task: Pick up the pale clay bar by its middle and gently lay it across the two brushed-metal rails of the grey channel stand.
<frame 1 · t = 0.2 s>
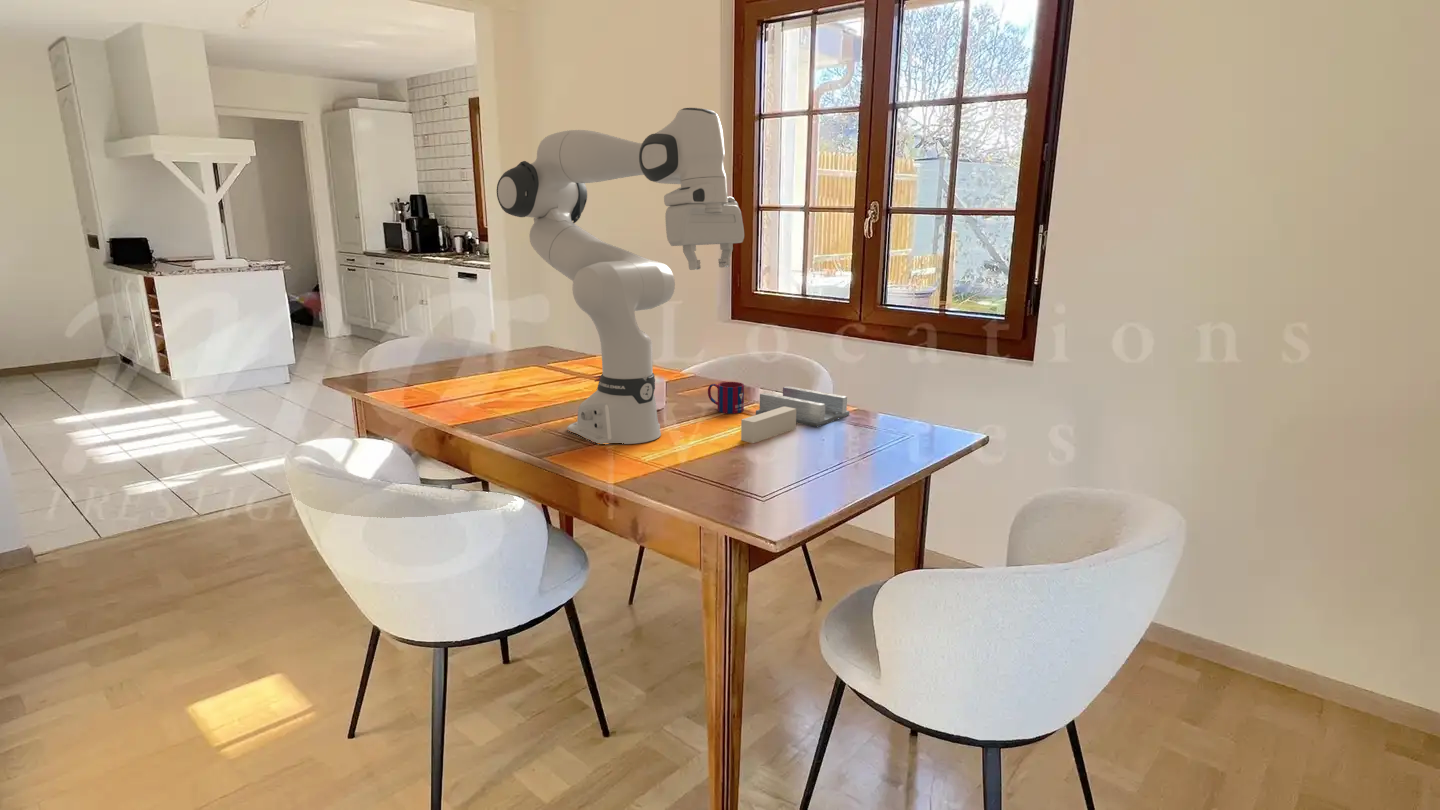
hand: (710, 268, 152), 39 cm above the table, tool pointing down, fingers open, 8 cm apart
clay strip: (769, 435, 178), on the table
grey channel stand: (802, 414, 195), on the table
mug: (725, 410, 200), on the table
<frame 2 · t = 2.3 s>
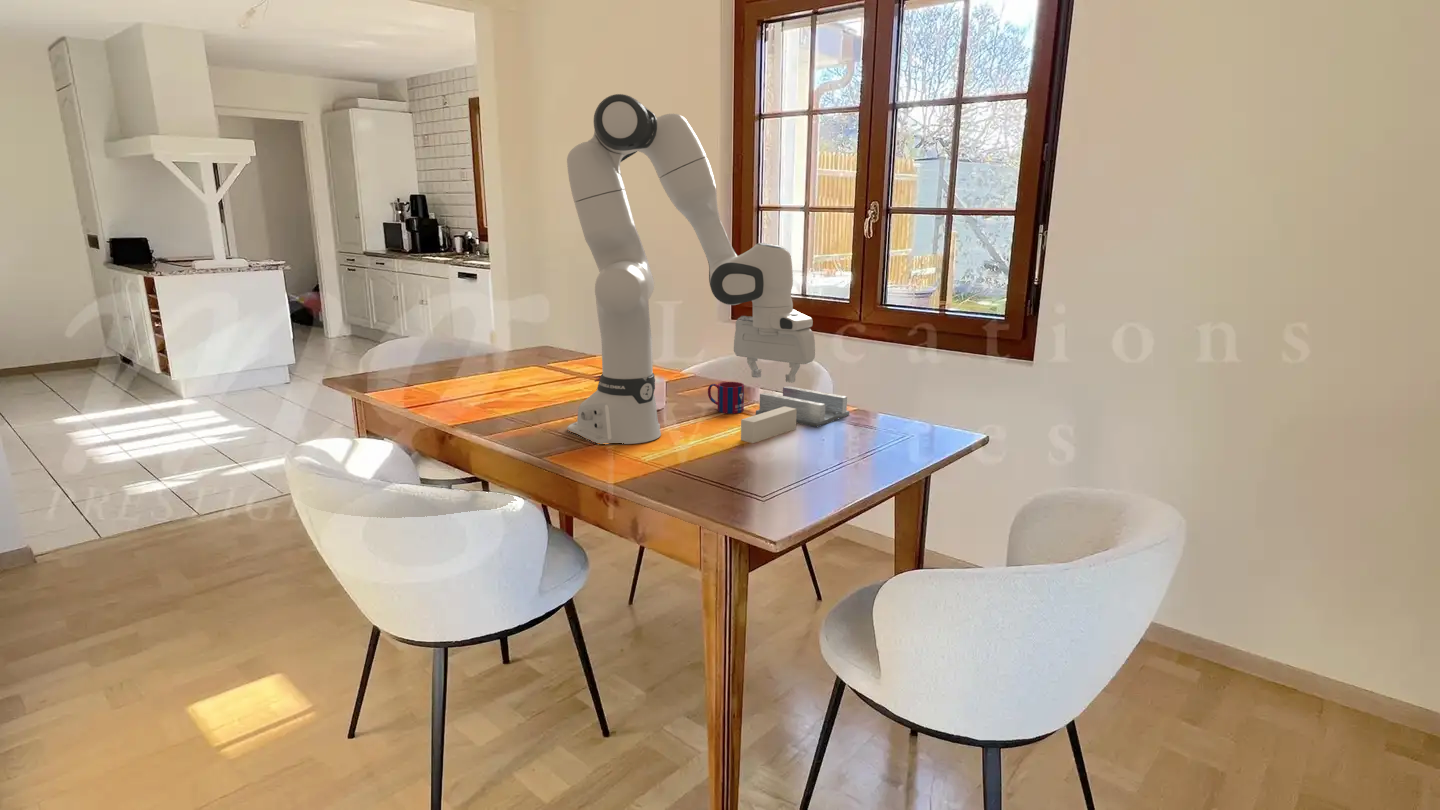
hand: (773, 379, 175), 13 cm above the table, tool pointing down, fingers open, 8 cm apart
nothing on the table moved.
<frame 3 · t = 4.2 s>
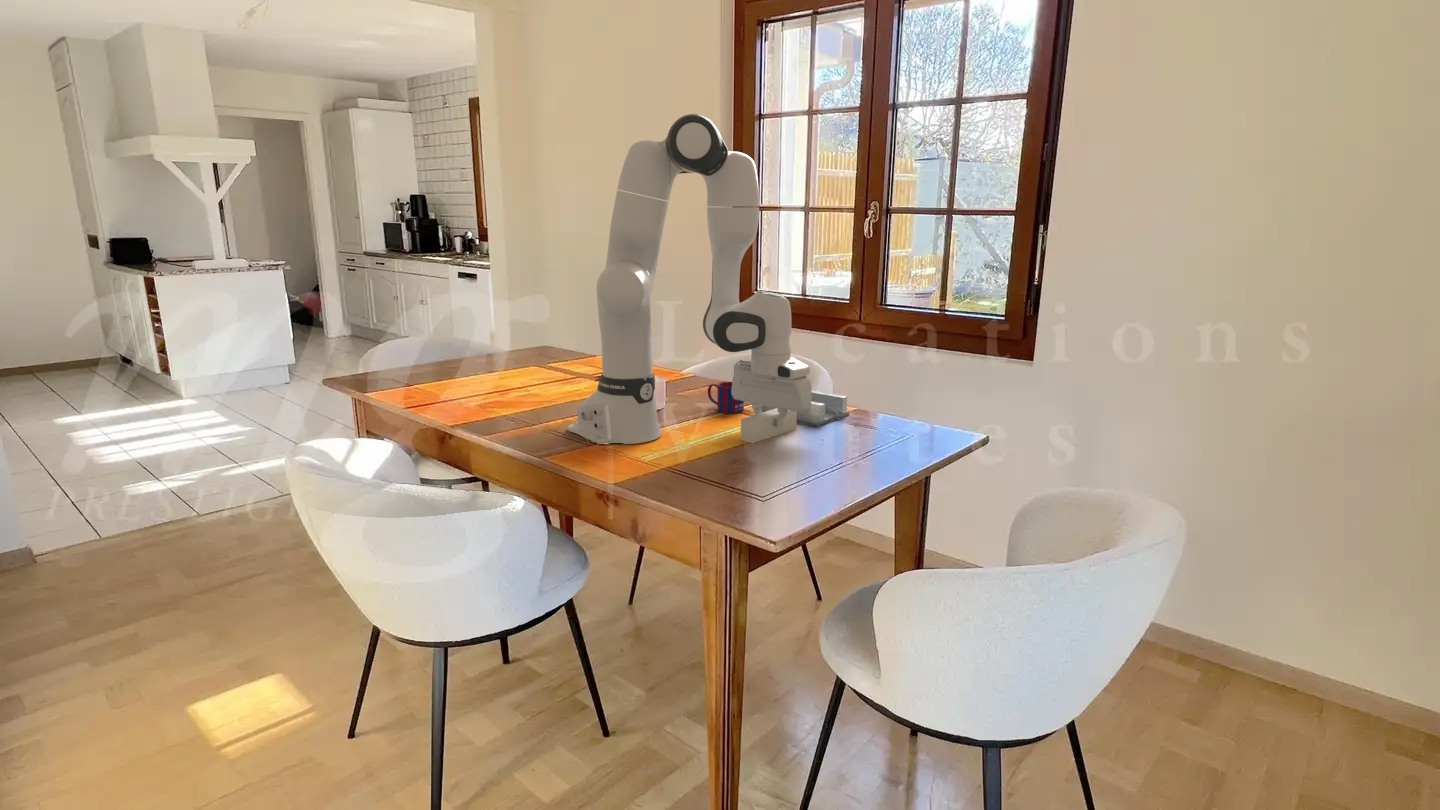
hand: (769, 424, 178), 2 cm above the table, tool pointing down, fingers closed on clay strip, 4 cm apart
clay strip: (769, 434, 178), on the table, touching gripper
everything else where it was.
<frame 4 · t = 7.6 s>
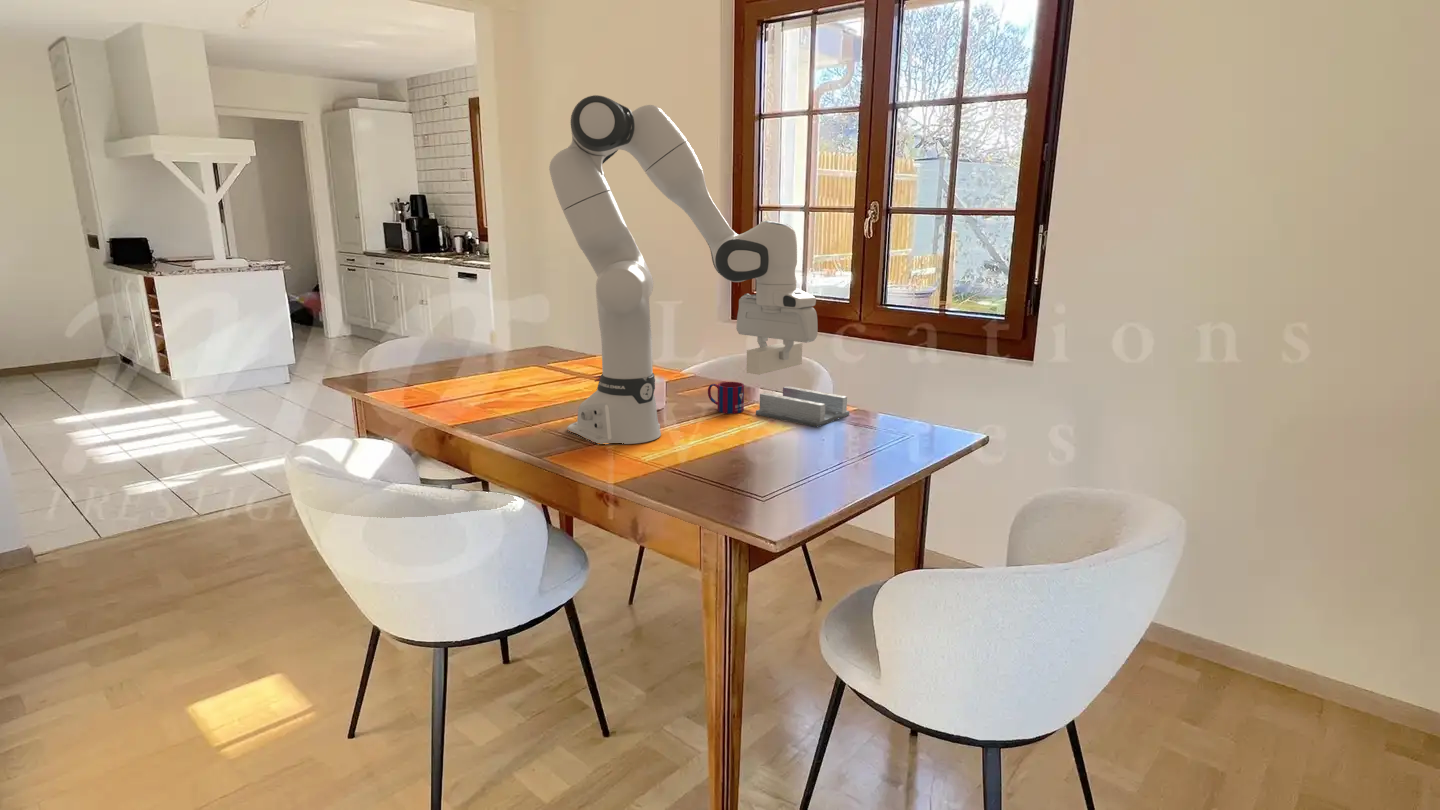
hand: (775, 358, 176), 17 cm above the table, tool pointing down, fingers closed on clay strip, 3 cm apart
clay strip: (774, 368, 176), point 15 cm above the table, touching gripper
everything else where it was.
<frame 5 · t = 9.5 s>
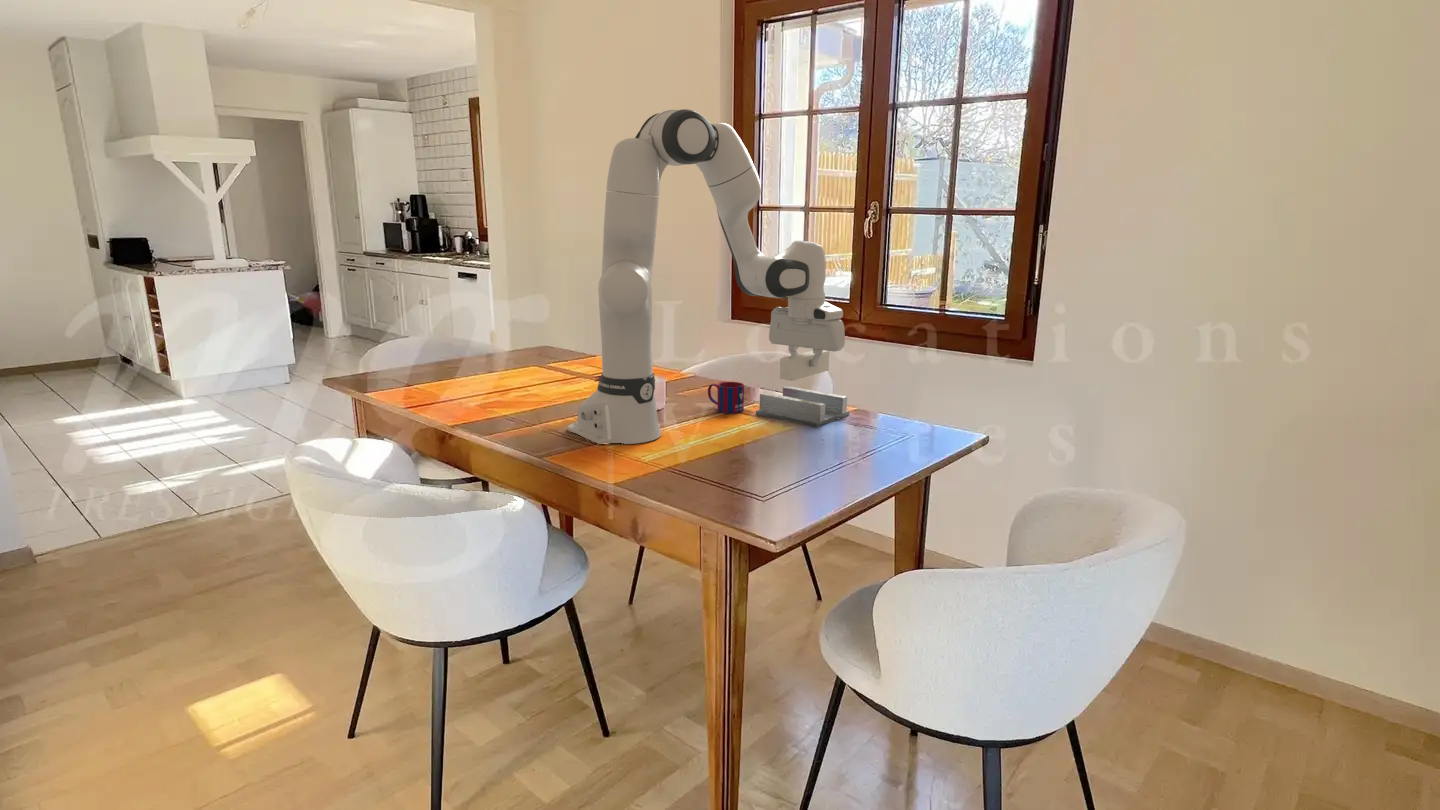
hand: (805, 365, 192), 13 cm above the table, tool pointing down, fingers closed on clay strip, 3 cm apart
clay strip: (804, 374, 193), point 10 cm above the table, touching gripper
everything else where it was.
when the fingers open (9 cm above the table, at t = 10.9 s): clay strip drops 1 cm, resting on grey channel stand.
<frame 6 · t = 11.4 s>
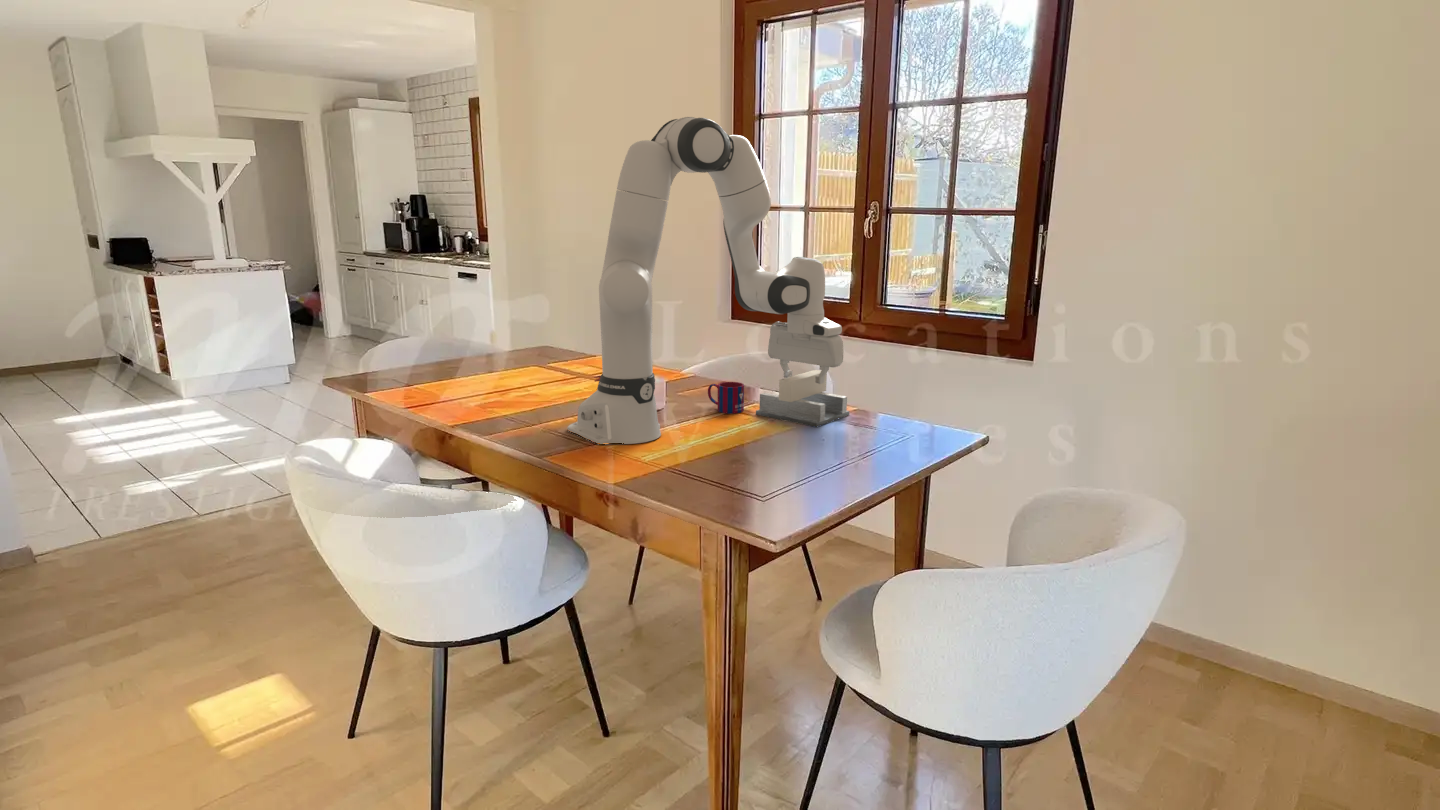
hand: (803, 380, 193), 9 cm above the table, tool pointing down, fingers open, 8 cm apart
clay strip: (803, 395, 194), point 5 cm above the table, touching grey channel stand
everything else where it was.
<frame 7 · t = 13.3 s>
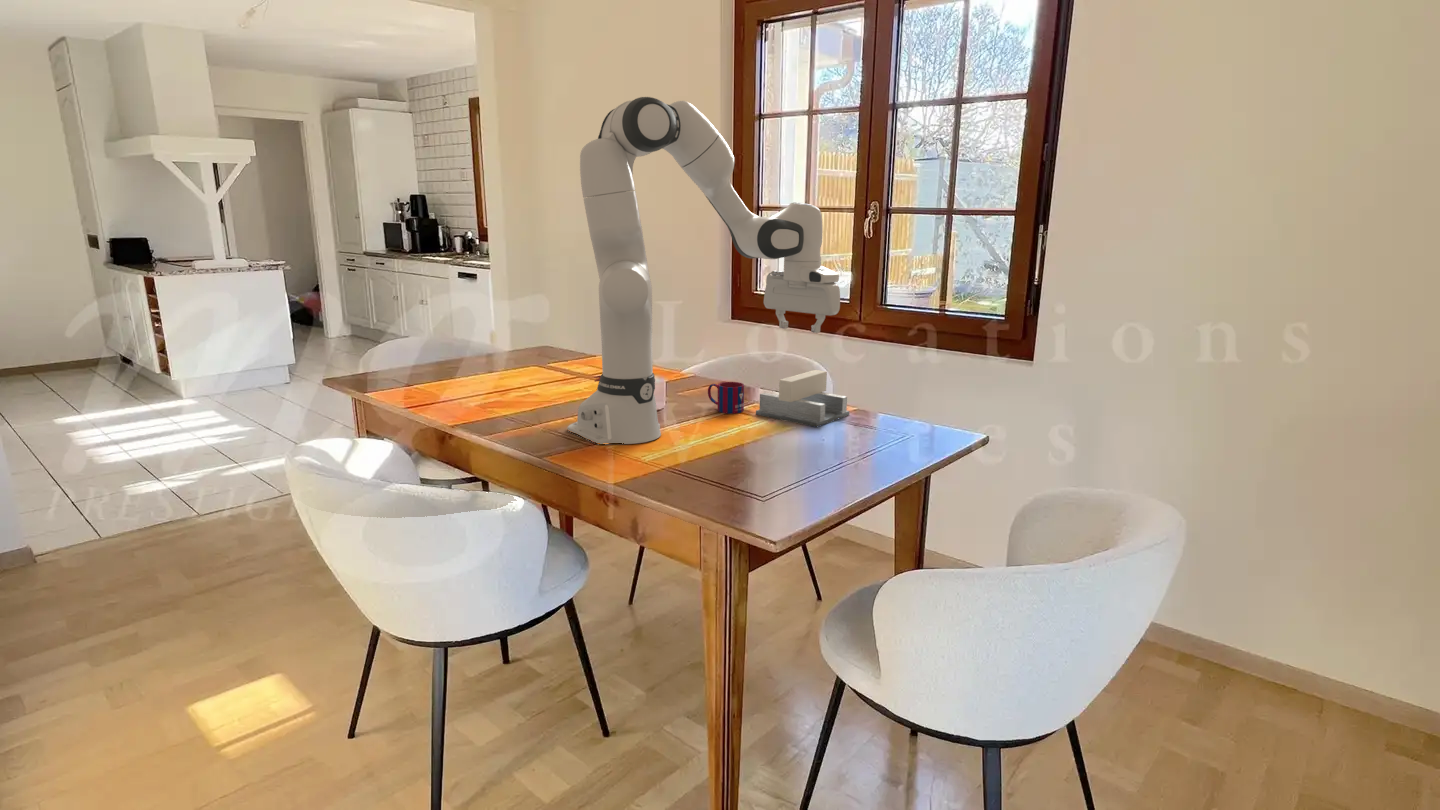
hand: (799, 330, 190), 21 cm above the table, tool pointing down, fingers open, 8 cm apart
nothing on the table moved.
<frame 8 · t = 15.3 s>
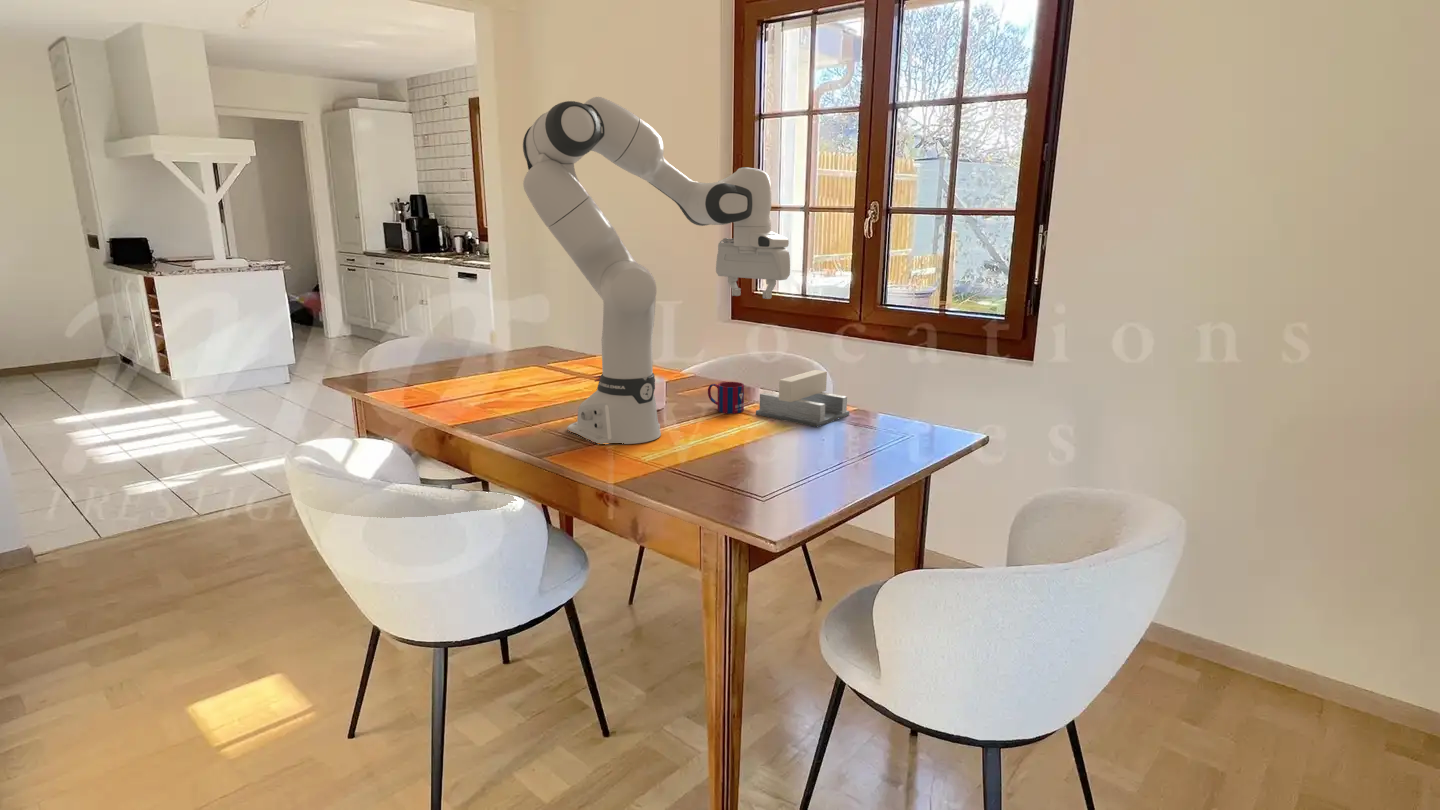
hand: (751, 297, 189), 29 cm above the table, tool pointing down, fingers open, 8 cm apart
nothing on the table moved.
at the end: clay strip 0.0 cm off-centre on the grey channel stand, point 5.0 cm above the grey channel stand's base; clay strip tilted 0°; the gripper is holding nothing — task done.
